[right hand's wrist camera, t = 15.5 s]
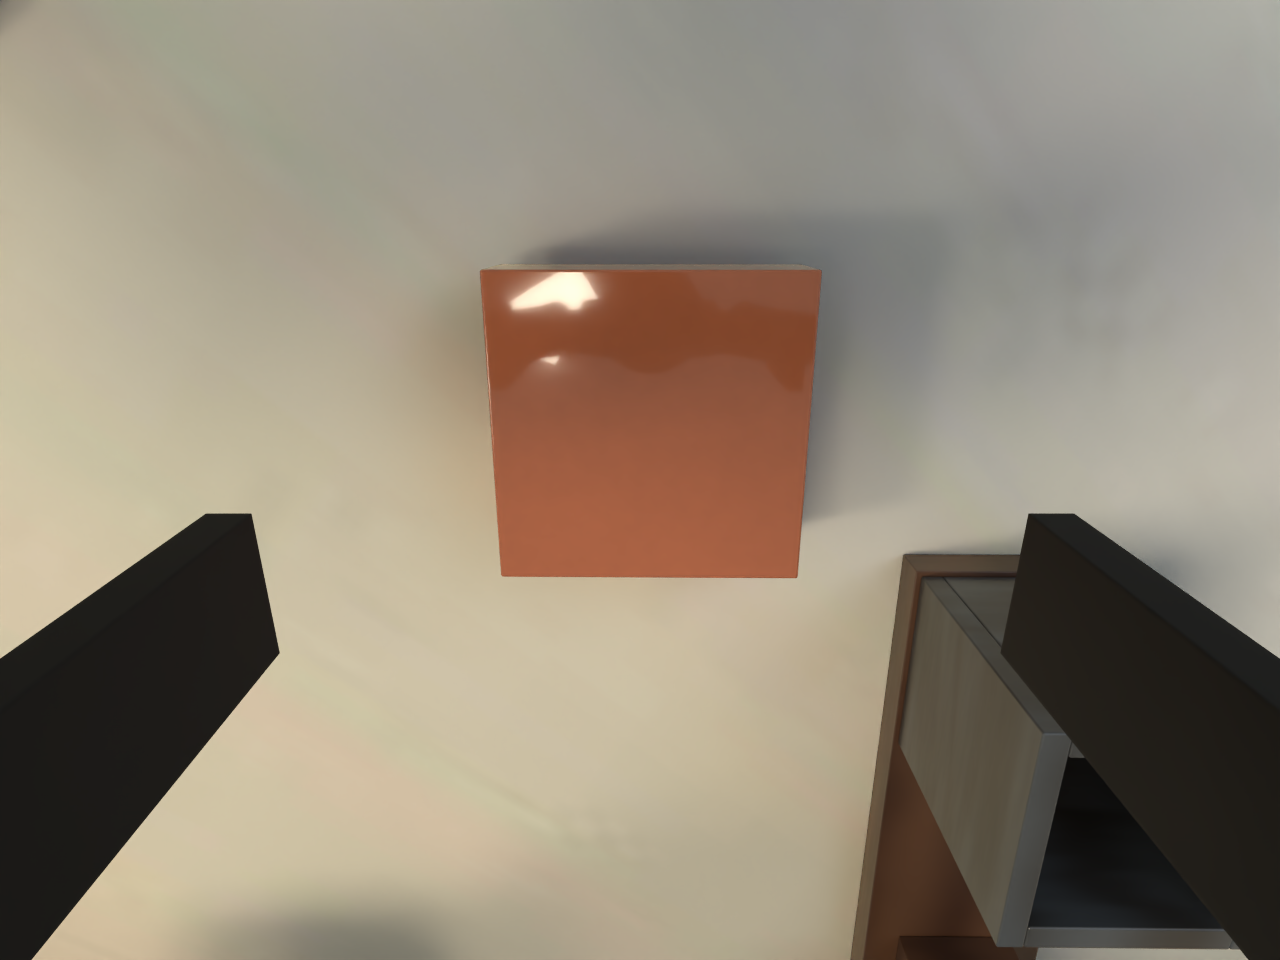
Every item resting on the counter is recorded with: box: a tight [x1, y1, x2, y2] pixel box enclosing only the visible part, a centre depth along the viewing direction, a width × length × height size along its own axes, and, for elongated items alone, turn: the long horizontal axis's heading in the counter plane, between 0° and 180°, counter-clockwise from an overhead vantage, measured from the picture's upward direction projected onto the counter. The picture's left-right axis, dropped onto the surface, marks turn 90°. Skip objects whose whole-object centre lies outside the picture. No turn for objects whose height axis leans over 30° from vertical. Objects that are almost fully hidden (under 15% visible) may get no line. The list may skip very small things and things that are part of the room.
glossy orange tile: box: [480, 264, 822, 578], centre depth 25 cm, size 10×10×4 cm
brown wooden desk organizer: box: [851, 555, 1239, 960], centre depth 28 cm, size 8×26×12 cm, turn 0°
